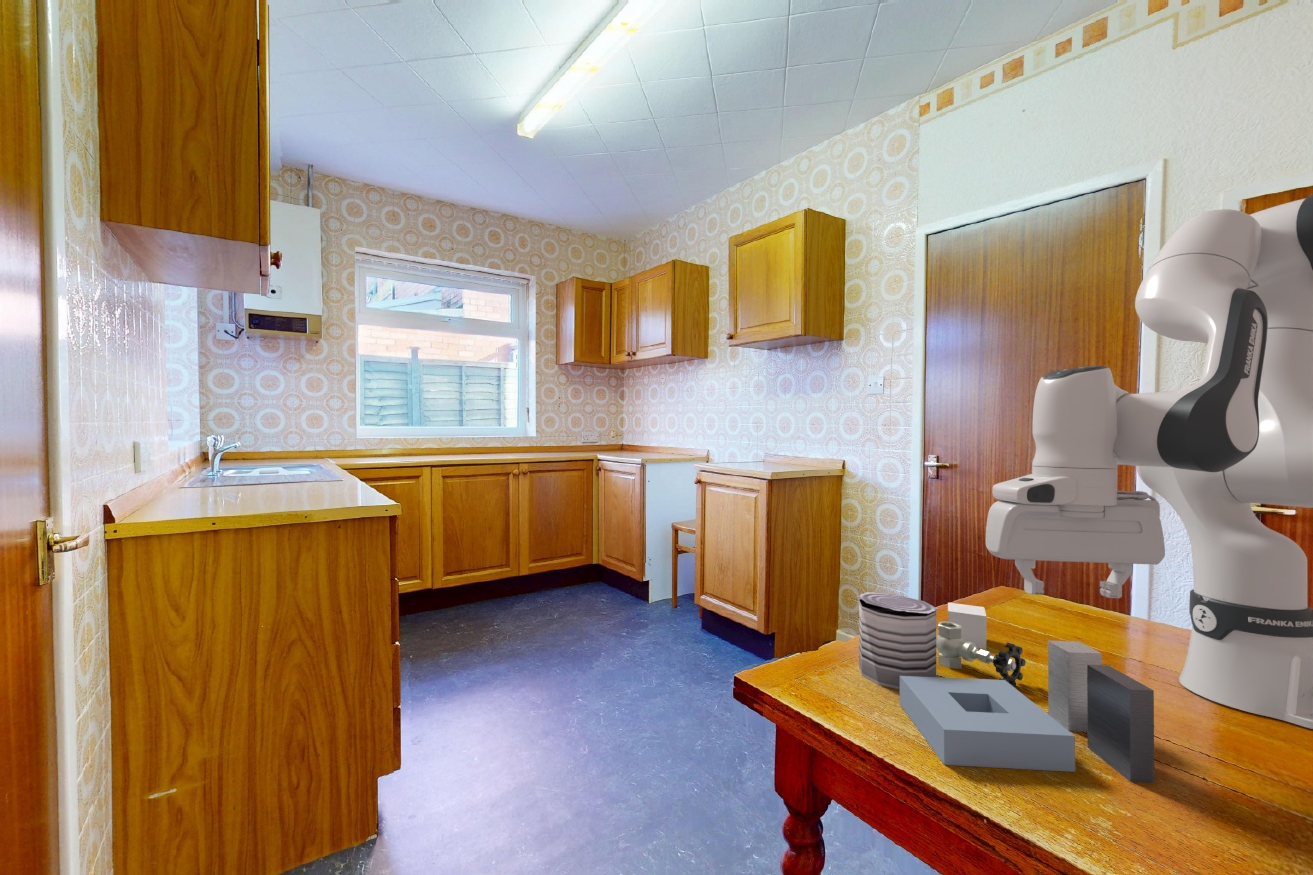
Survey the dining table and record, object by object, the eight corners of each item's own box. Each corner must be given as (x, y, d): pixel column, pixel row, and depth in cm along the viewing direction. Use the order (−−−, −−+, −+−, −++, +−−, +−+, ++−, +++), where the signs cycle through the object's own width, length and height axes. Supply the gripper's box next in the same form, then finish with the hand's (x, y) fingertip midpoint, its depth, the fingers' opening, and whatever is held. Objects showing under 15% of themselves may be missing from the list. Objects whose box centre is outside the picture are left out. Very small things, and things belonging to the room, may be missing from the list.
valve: (925, 664, 89) (1002, 693, 78) (925, 624, 89) (1002, 648, 78) (949, 656, 92) (1025, 683, 82) (949, 617, 92) (1025, 640, 82)
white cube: (986, 650, 95) (986, 616, 95) (948, 643, 98) (947, 611, 98) (984, 638, 100) (984, 606, 100) (947, 633, 103) (947, 602, 103)
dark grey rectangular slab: (1108, 748, 64) (1108, 665, 64) (1154, 783, 58) (1153, 690, 58) (1087, 747, 64) (1087, 664, 64) (1130, 781, 58) (1129, 689, 58)
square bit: (1079, 716, 72) (1079, 641, 72) (1101, 732, 68) (1101, 653, 68) (1048, 714, 72) (1048, 640, 72) (1068, 730, 68) (1068, 652, 68)
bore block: (1005, 709, 74) (1005, 679, 74) (1075, 771, 60) (1075, 735, 60) (899, 704, 75) (899, 675, 75) (944, 764, 61) (944, 729, 61)
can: (846, 660, 90) (846, 589, 90) (911, 658, 91) (911, 588, 91) (879, 692, 78) (879, 610, 78) (953, 690, 79) (953, 609, 79)
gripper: (1138, 489, 72) (1138, 591, 72) (980, 485, 74) (979, 585, 74) (1180, 493, 66) (1179, 605, 66) (1005, 489, 68) (1004, 598, 68)
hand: (1072, 595), depth 70 cm, fingers open, 8 cm apart
